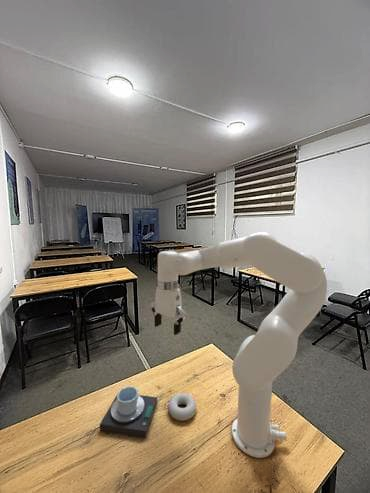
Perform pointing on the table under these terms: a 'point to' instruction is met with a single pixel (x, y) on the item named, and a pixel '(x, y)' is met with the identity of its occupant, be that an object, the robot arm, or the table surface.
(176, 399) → the donut
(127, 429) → the scale
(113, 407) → the scale pan
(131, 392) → the light blue cup
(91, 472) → the table surface
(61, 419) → the table surface
